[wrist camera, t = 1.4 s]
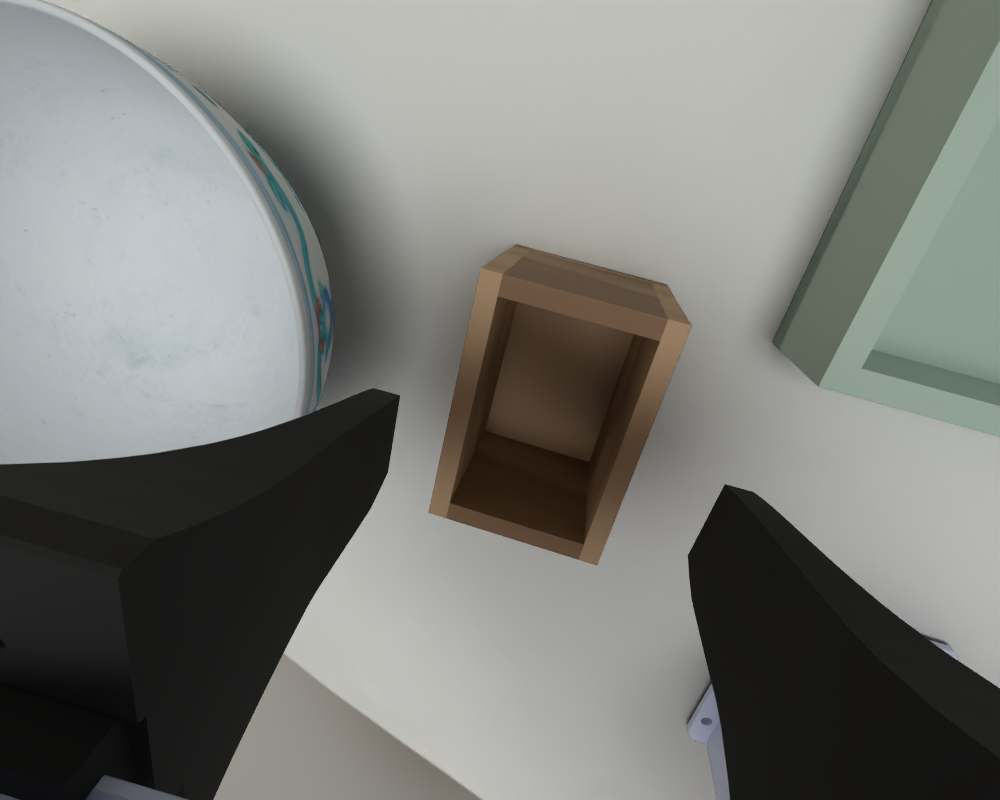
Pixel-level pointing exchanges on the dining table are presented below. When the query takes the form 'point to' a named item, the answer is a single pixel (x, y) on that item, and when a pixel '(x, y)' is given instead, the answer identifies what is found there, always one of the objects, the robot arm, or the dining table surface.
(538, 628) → the dining table surface
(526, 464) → the walnut crate
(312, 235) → the chinaware
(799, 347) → the sage crate
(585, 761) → the dining table surface
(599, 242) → the dining table surface
